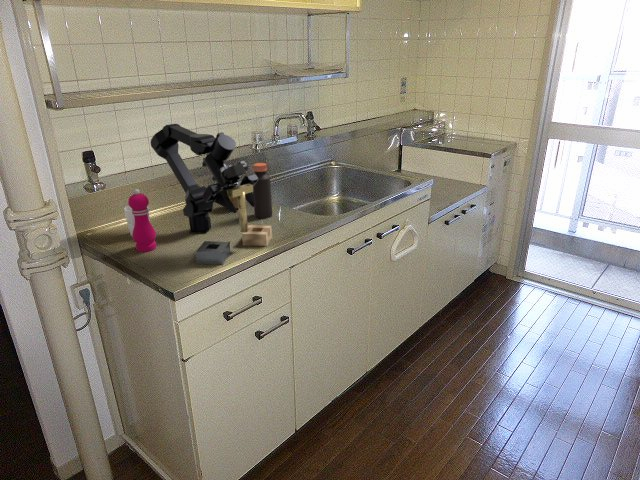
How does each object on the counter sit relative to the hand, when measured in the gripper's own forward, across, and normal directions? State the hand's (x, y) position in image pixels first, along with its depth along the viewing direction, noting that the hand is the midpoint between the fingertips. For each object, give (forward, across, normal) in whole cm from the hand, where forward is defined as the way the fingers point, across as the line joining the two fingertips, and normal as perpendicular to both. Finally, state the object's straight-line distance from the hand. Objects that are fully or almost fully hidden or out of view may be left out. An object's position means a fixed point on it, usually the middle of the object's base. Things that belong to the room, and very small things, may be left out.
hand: (245, 209), depth 146 cm
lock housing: (+8, -12, +11) cm, 18 cm away
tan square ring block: (+8, +7, +12) cm, 15 cm away
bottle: (-5, +25, +24) cm, 35 cm away
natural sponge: (-16, +24, +36) cm, 46 cm away
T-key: (+4, 0, +6) cm, 8 cm away
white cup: (-18, -15, +38) cm, 45 cm away
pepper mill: (-9, -21, +29) cm, 36 cm away
